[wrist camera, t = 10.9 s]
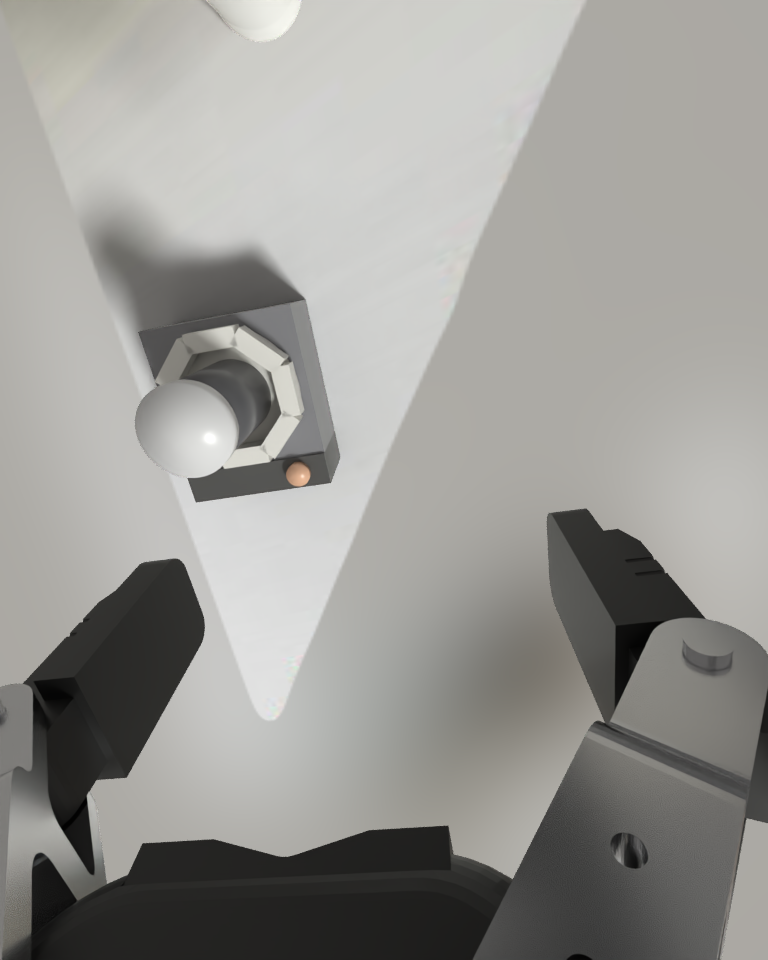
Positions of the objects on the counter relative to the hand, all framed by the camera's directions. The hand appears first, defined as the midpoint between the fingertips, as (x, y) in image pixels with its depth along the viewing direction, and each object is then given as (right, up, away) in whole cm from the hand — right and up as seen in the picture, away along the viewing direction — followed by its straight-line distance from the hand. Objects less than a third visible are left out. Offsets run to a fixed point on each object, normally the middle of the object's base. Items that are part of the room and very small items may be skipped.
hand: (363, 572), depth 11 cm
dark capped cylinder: (-9, +7, +22) cm, 25 cm away
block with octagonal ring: (-9, +9, +27) cm, 30 cm away
